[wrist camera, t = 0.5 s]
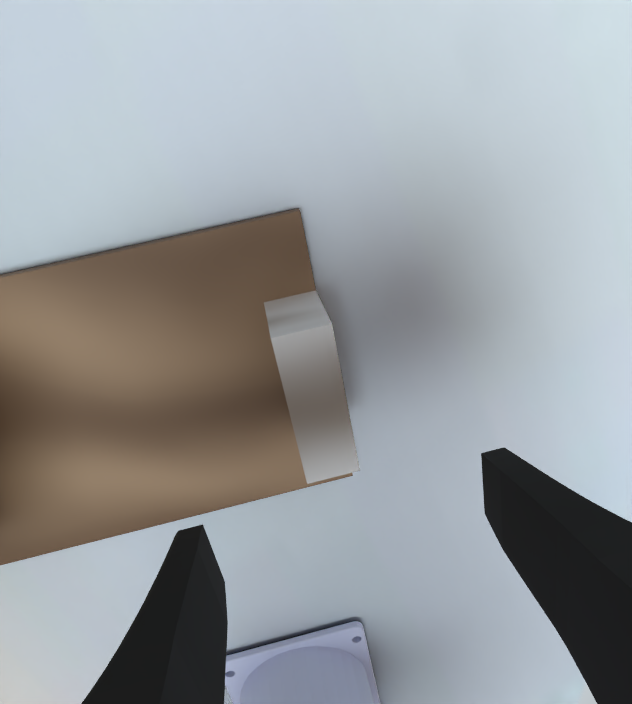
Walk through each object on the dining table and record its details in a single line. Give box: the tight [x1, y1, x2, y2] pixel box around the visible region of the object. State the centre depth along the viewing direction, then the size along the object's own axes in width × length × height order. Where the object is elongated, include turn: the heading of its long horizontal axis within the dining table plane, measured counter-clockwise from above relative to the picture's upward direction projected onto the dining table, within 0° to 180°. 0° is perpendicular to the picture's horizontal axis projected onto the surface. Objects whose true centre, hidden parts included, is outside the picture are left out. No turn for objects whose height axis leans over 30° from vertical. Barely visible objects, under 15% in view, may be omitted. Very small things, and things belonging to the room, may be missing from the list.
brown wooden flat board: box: [0, 208, 360, 565], centre depth 19 cm, size 12×22×4 cm, turn 101°
